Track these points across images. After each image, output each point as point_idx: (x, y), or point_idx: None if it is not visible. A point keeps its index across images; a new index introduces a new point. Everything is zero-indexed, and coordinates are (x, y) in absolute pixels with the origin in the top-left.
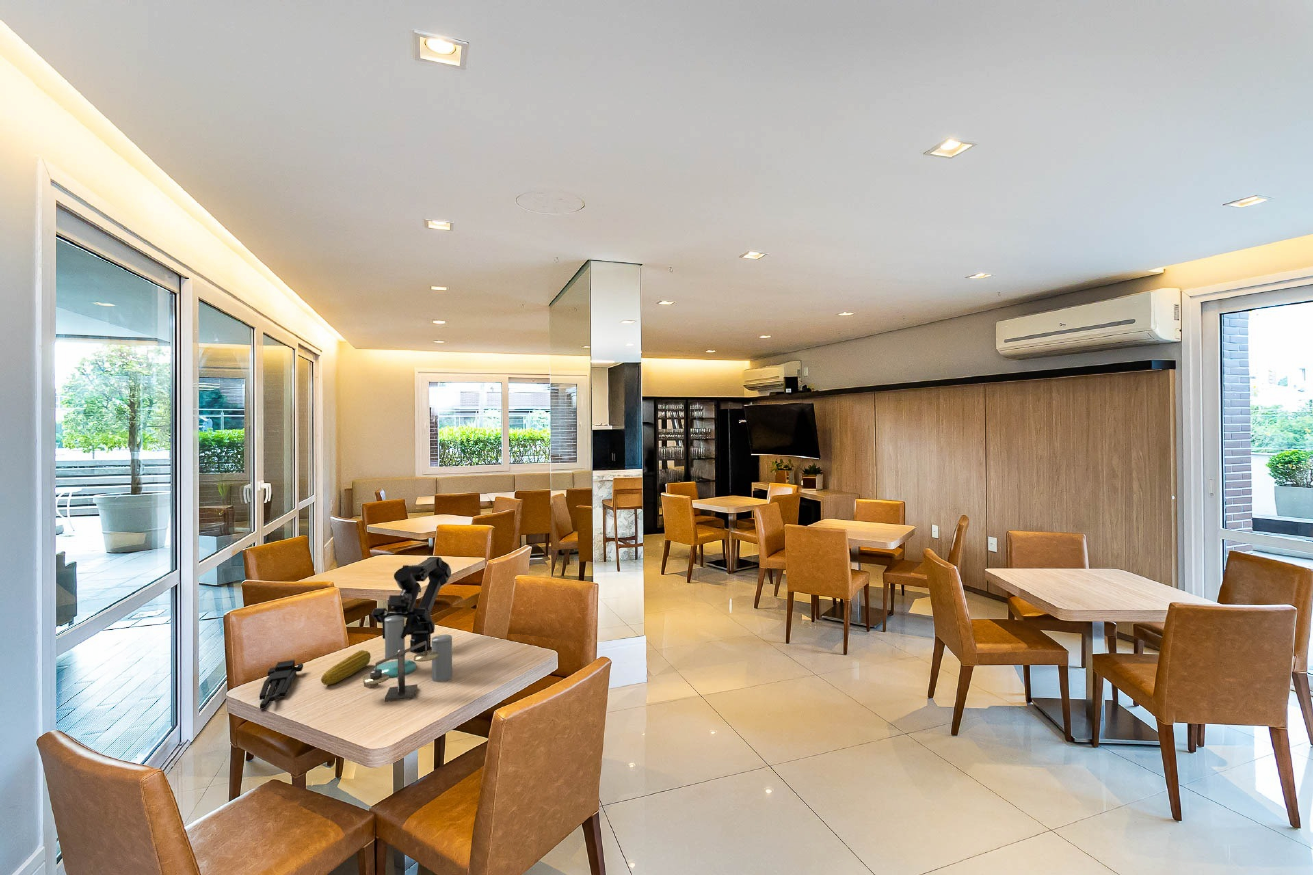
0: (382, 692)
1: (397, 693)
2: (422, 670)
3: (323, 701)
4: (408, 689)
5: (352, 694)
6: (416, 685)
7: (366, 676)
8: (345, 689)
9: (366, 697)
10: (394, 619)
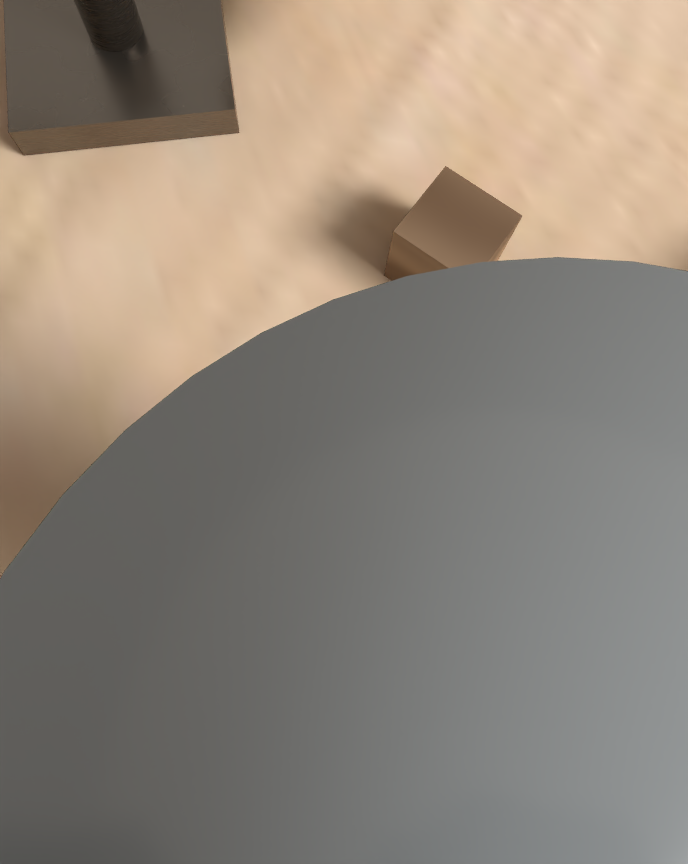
0: (290, 120)
1: None
2: None
3: (664, 38)
4: (64, 47)
5: (513, 120)
6: (13, 111)
7: (504, 231)
8: (620, 221)
9: (379, 53)
10: (458, 455)
